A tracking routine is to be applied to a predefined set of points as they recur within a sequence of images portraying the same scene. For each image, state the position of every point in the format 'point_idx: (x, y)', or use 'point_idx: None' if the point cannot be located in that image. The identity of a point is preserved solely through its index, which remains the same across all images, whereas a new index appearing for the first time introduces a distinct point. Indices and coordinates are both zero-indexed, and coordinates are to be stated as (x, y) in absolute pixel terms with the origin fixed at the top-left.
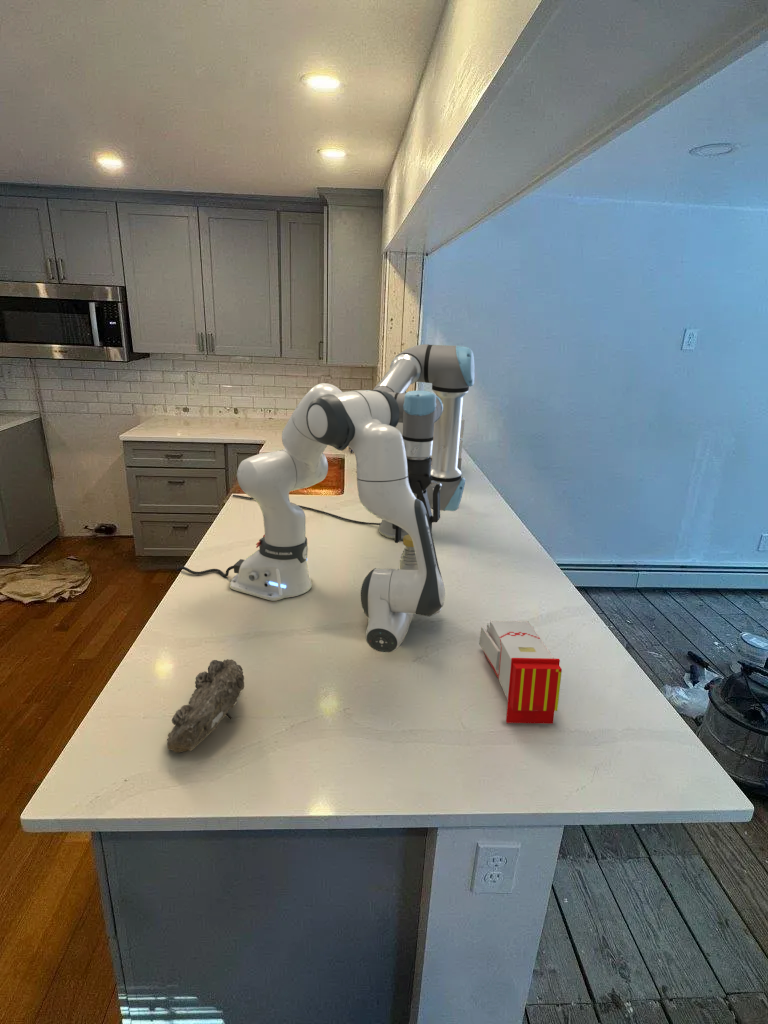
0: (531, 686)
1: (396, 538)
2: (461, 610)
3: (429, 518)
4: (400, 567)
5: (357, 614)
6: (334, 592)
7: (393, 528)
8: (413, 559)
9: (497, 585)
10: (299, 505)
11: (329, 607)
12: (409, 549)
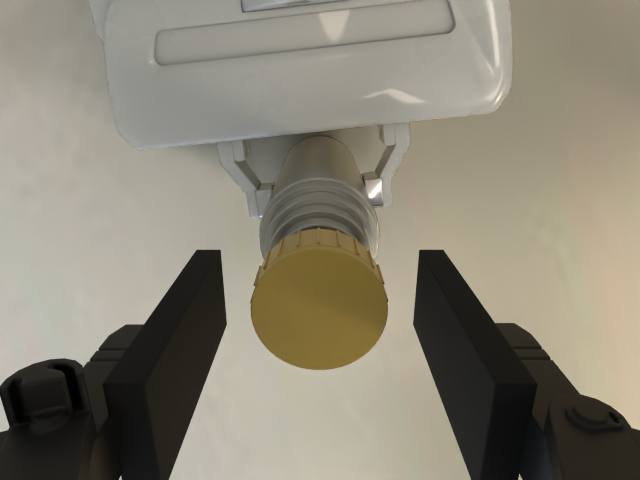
0: None
1: (441, 264)
2: (127, 219)
3: (1, 460)
4: (362, 188)
5: None
6: (616, 153)
7: (510, 325)
8: (283, 207)
9: None
10: None
11: (609, 25)
12: None
